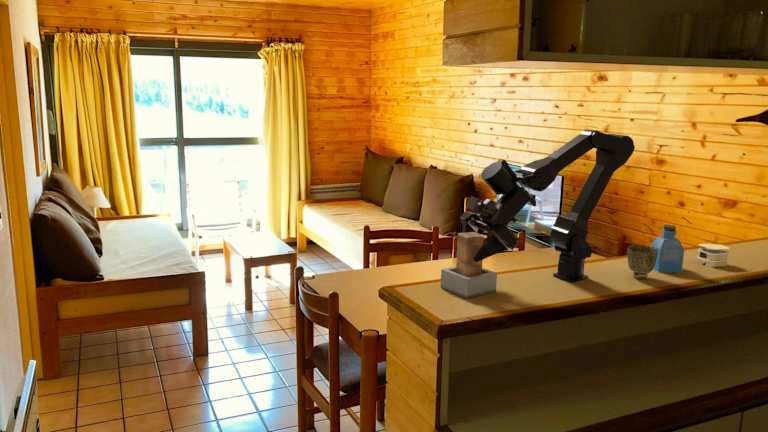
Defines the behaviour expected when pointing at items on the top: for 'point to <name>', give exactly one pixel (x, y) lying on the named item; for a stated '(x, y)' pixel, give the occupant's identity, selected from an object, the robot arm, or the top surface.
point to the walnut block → (468, 254)
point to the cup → (641, 260)
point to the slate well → (468, 282)
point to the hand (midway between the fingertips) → (464, 255)
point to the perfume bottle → (668, 251)
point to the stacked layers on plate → (713, 254)
